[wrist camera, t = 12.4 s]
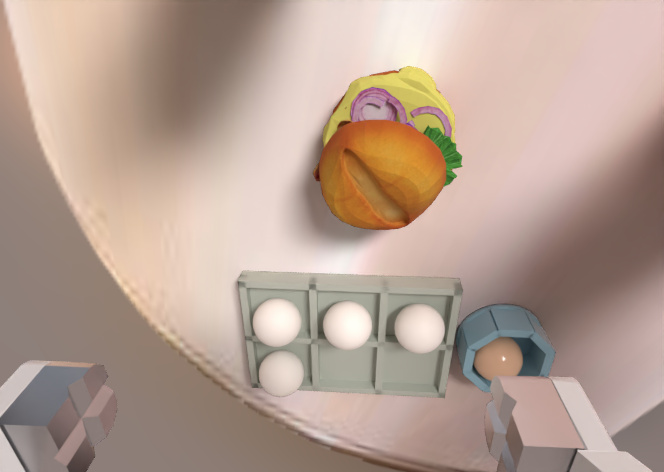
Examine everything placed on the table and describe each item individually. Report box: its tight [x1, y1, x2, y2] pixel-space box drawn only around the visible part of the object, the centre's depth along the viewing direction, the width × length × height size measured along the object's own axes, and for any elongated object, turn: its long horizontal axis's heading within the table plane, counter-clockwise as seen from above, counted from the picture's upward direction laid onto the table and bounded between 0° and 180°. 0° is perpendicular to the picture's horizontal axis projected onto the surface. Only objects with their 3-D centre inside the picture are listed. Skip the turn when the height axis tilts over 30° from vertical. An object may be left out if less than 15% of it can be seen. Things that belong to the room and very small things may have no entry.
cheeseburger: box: [313, 66, 462, 230], centre depth 32 cm, size 10×11×10 cm
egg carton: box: [238, 271, 463, 398], centre depth 43 cm, size 21×14×5 cm
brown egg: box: [473, 336, 523, 381], centre depth 42 cm, size 5×5×5 cm
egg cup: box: [456, 304, 556, 392], centre depth 43 cm, size 8×8×4 cm
